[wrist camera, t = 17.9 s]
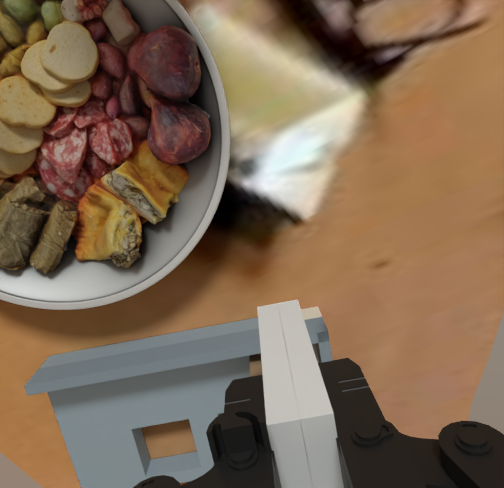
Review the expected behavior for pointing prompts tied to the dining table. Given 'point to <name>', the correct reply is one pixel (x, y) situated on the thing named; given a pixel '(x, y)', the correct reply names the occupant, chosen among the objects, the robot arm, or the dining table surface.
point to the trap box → (151, 396)
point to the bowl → (104, 147)
